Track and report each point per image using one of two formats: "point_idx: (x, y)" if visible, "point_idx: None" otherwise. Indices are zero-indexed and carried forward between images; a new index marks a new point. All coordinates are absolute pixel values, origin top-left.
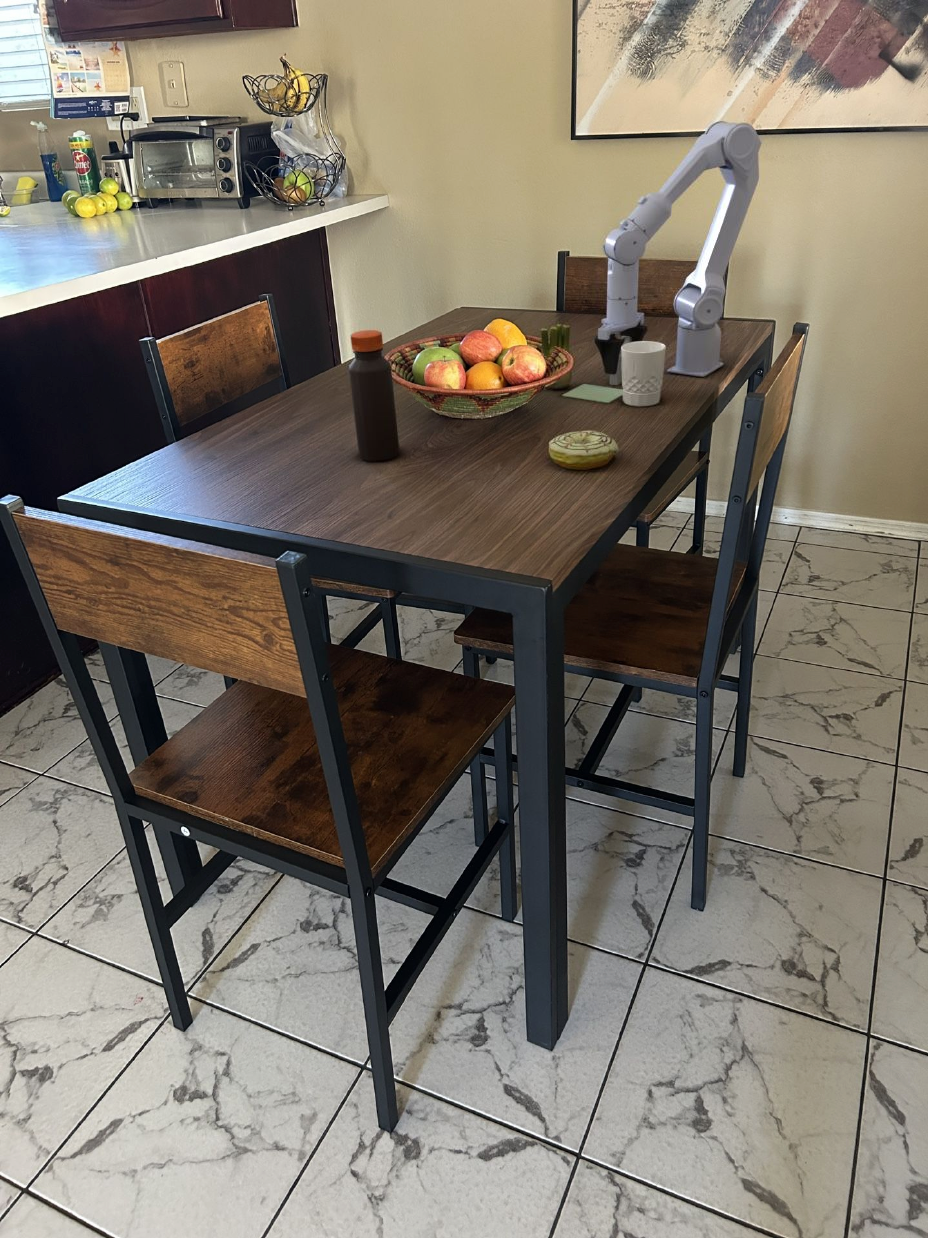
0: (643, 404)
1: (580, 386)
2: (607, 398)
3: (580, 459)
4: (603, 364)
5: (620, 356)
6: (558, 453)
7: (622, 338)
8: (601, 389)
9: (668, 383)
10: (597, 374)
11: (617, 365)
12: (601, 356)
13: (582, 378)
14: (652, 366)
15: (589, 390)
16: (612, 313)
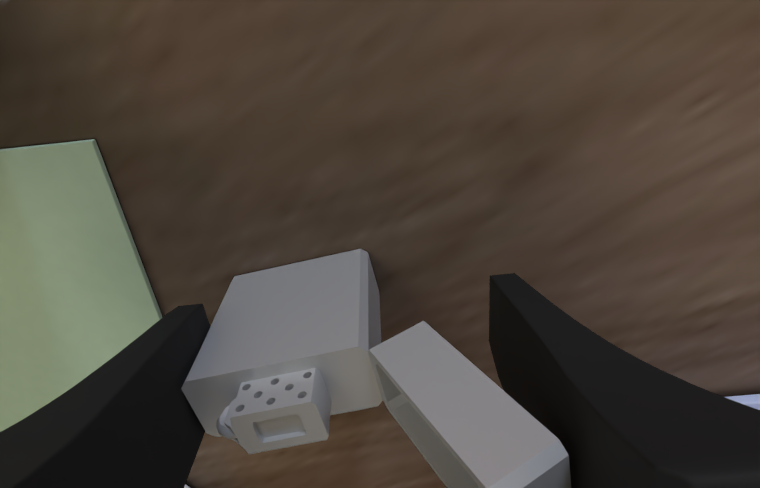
0: None
1: (24, 161)
2: (11, 415)
3: None
4: (131, 345)
5: (280, 442)
6: None
7: (490, 470)
8: (97, 310)
9: (436, 481)
10: (380, 56)
11: (201, 427)
12: (63, 396)
13: (211, 13)
14: None
15: (20, 264)
16: None
